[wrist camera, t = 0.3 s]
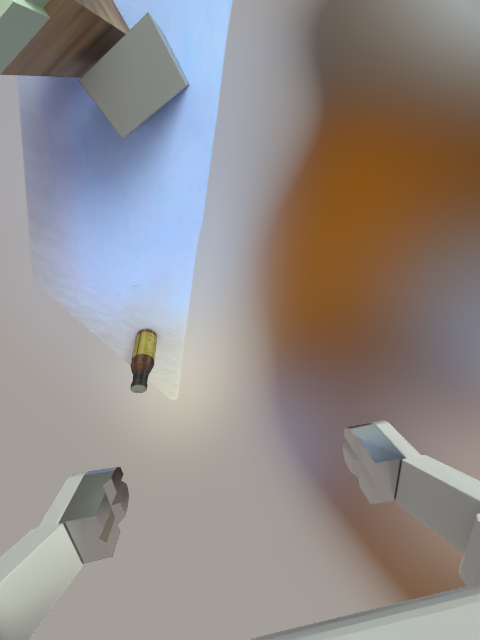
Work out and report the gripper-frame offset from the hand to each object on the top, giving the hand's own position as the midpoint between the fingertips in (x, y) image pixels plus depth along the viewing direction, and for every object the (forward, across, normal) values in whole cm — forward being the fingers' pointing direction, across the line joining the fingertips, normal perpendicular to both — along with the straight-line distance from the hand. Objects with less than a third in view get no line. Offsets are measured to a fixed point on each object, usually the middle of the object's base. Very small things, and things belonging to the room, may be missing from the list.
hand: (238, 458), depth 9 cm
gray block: (+43, +6, -32) cm, 54 cm away
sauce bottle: (+69, +23, +19) cm, 75 cm away
